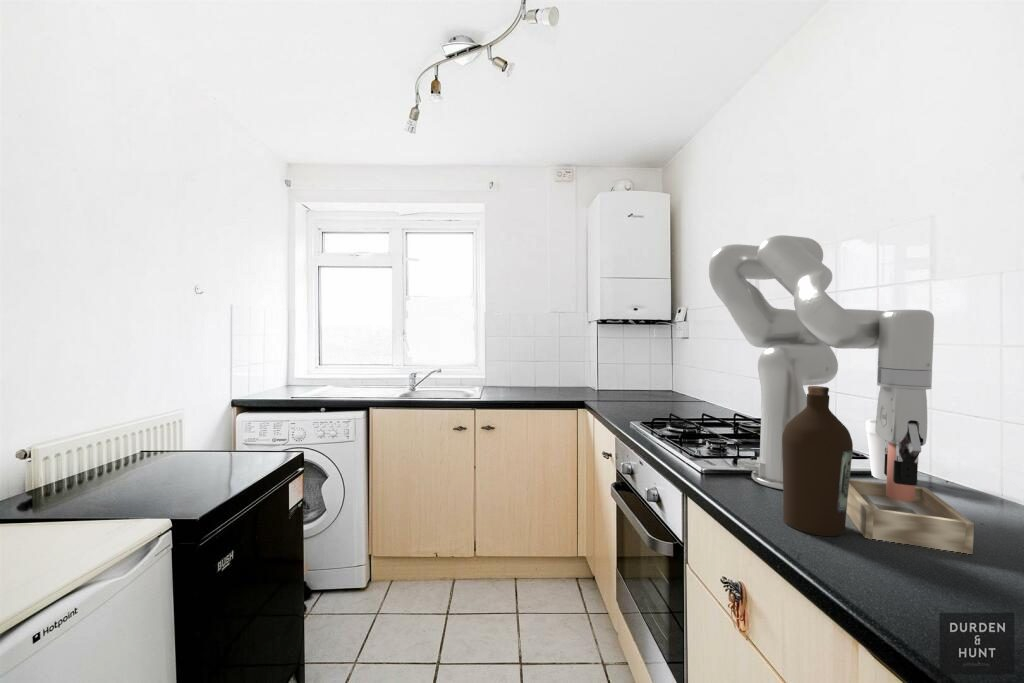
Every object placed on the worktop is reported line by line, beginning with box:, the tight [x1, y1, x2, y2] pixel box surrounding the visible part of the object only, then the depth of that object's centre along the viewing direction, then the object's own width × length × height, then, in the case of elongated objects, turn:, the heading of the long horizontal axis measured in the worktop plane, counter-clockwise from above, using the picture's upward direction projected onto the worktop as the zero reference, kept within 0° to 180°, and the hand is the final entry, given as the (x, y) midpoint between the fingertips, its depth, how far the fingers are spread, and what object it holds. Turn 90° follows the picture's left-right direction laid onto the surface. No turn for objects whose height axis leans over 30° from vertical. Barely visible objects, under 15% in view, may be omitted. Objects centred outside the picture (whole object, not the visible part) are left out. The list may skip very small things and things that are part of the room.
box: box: [846, 478, 975, 555], centre depth 86 cm, size 14×18×5 cm
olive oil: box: [782, 385, 854, 537], centre depth 85 cm, size 11×11×25 cm
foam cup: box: [865, 419, 887, 482], centre depth 113 cm, size 10×9×13 cm
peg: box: [886, 440, 916, 502], centre depth 85 cm, size 4×4×12 cm
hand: (899, 479), depth 85 cm, fingers closed on peg, 4 cm apart
